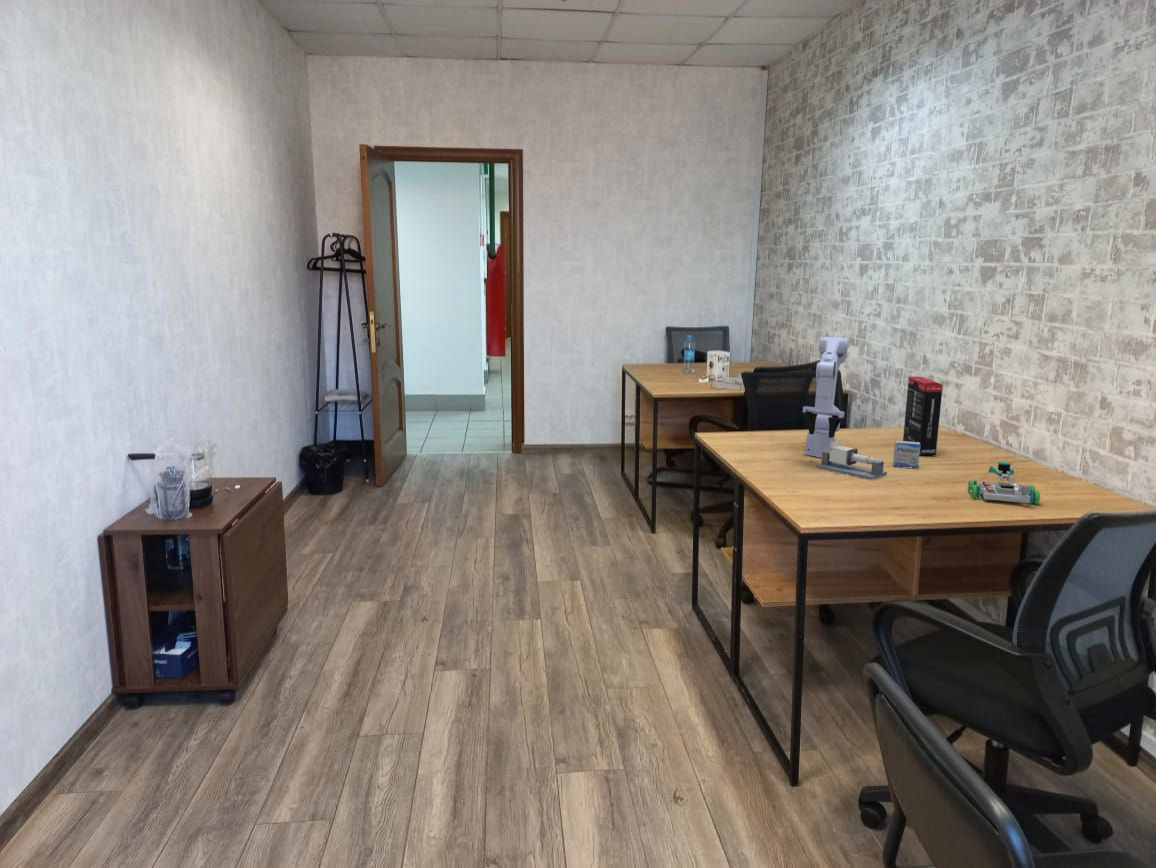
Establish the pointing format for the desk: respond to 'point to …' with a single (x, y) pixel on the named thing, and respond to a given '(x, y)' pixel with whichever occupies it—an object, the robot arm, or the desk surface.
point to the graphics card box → (923, 413)
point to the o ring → (850, 456)
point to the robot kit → (1004, 487)
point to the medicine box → (906, 454)
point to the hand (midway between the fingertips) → (821, 435)
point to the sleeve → (838, 452)
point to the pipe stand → (854, 466)
